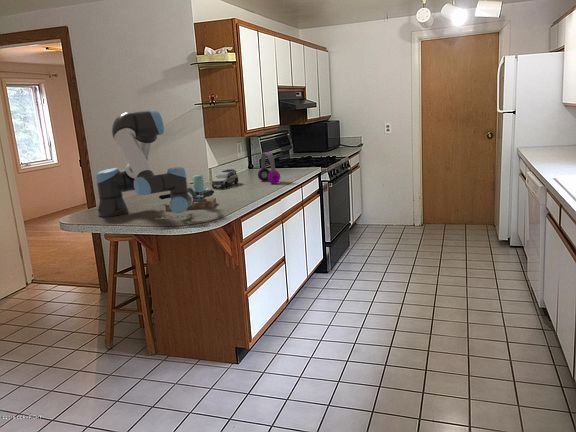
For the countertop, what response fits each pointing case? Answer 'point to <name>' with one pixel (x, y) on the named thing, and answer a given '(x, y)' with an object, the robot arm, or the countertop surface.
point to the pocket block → (198, 204)
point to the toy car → (225, 178)
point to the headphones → (265, 173)
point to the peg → (198, 186)
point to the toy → (170, 194)
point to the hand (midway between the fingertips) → (195, 191)
